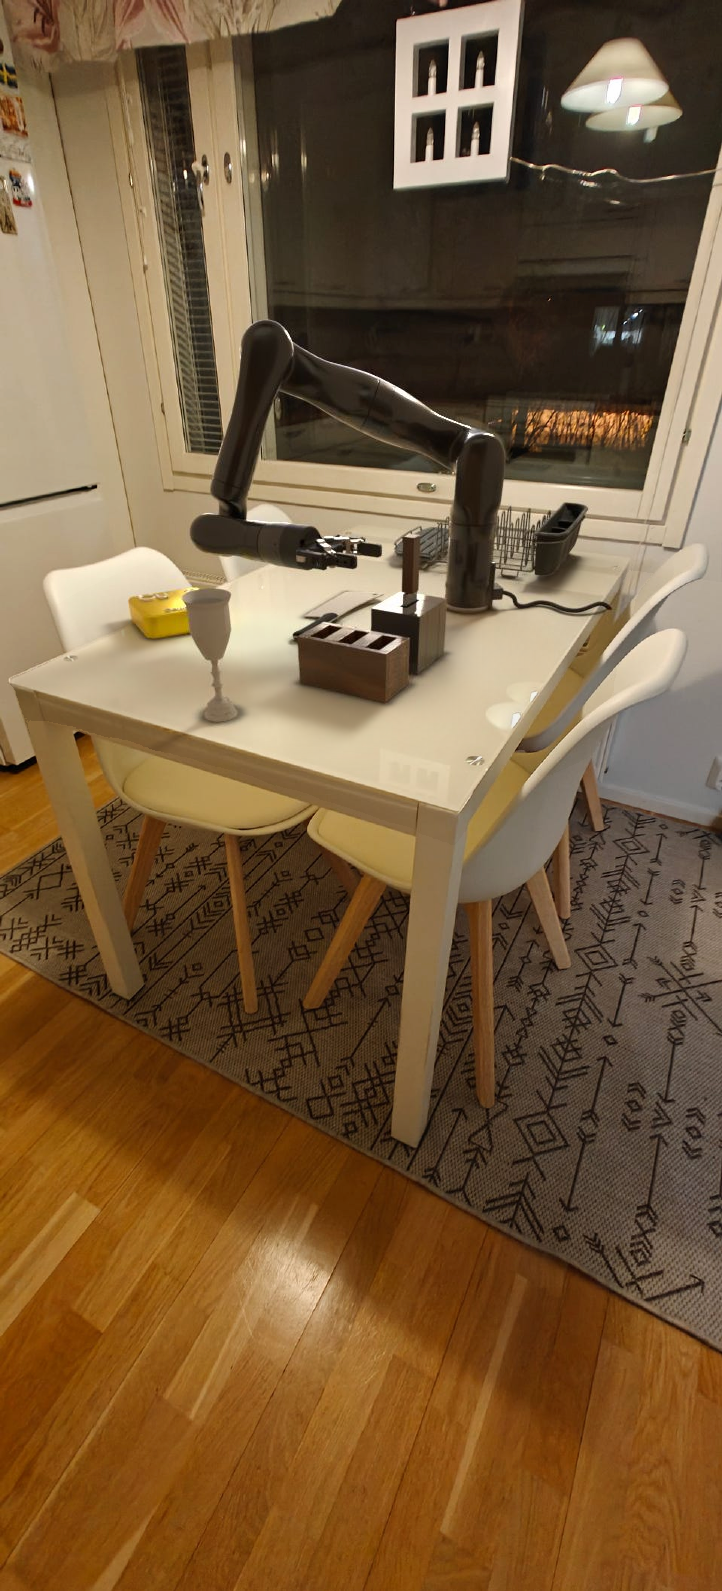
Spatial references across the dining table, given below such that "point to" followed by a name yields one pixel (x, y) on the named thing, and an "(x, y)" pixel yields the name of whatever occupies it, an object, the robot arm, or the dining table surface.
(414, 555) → the chef knife
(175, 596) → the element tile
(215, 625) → the chalice
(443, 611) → the knife block
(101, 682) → the dining table surface
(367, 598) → the kitchen cleaver
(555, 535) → the dish rack
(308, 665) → the knife rack
